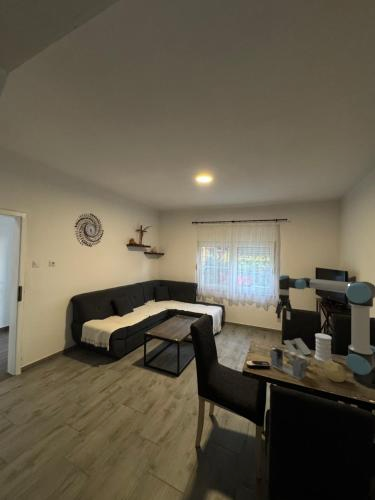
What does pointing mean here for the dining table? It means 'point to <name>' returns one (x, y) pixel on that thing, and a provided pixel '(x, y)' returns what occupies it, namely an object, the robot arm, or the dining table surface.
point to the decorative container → (323, 347)
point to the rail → (296, 357)
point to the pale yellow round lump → (334, 371)
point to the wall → (297, 346)
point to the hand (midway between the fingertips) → (283, 320)
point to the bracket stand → (294, 371)
